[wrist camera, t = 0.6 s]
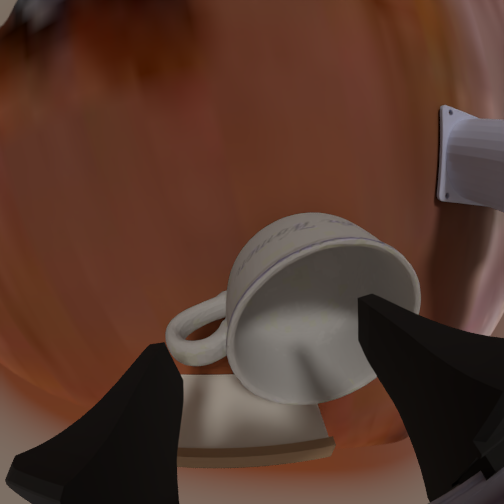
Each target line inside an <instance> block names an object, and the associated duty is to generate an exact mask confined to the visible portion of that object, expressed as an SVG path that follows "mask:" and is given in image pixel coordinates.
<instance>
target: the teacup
mask: <svg viewBox="0 0 504 504" xmlns="http://www.w3.org/2000/svg"><path fill="white" fill-rule="evenodd" d="M369 294H375V295H377V296H379V297H382V298H384V299H386V300H388V301H390V302H392V303H394V304H396V305H398V306H400V307H403V308H405V309H407V310H409V311H411V312H413V313H416V314H418V315H419V311H420V303H421V293H420V284H419V281H418V278H417V275H416V273H415V271H414V269H413V268H412V266H411V264H410V263H409V262H408V261H407V260H406V258H405V257H404V256H403V255H402V254H401V253H400V252H398V251H397V250H396V249H394V248H393V247H391V246H389V245H387V244H385V243H383V242H381V241H380V240H378V239H377V238H376V237H374V236H373V235H371V234H370V233H368V232H367V231H365V230H364V229H362V228H361V227H359V226H357V225H355V224H353V223H352V222H350V221H348V220H346V219H343V218H340V217H337V216H334V215H330V214H324V213H302V214H295V215H291V216H288V217H284V218H282V219H280V220H277V221H275V222H273V223H271V224H269V225H268V226H266V227H265V228H263V229H262V230H261V231H259V232H258V233H257V234H256V235H255V236H254V237H252V238H251V239H250V240H249V242H248V243H247V244H246V245H245V246H244V247H243V249H242V250H241V252H240V253H239V255H238V257H237V258H236V260H235V262H234V265H233V267H232V270H231V273H230V276H229V281H228V287H227V291H223V292H222V293H220V294H219V295H218V296H217V297H215V298H212V299H210V300H207V301H204V302H202V303H200V304H197V305H195V306H193V307H191V308H188V309H186V310H185V311H183V312H181V313H180V314H178V315H177V316H176V317H174V318H173V319H172V320H171V321H170V323H169V324H168V326H167V329H166V343H167V346H168V348H169V351H170V353H171V354H172V355H173V357H174V358H175V359H176V360H177V361H179V362H180V363H183V364H185V365H190V366H204V365H208V364H212V363H214V362H216V361H218V360H220V359H222V358H223V357H225V356H227V358H228V362H229V364H230V367H231V369H232V371H233V373H234V375H235V376H236V377H237V379H238V380H239V381H240V382H241V384H242V385H243V386H244V387H245V388H246V389H247V390H249V391H250V392H252V393H253V394H255V395H256V396H259V397H261V398H263V399H265V400H268V401H272V402H276V403H279V404H287V405H310V404H318V403H323V402H327V401H331V400H334V399H337V398H340V397H342V396H345V395H347V394H350V393H352V392H354V391H355V390H358V389H359V388H361V387H363V386H365V385H366V384H368V383H369V382H371V381H372V380H374V379H375V378H376V377H377V375H376V374H375V372H374V370H373V369H372V367H371V366H370V364H369V362H368V361H367V359H366V356H365V354H364V352H363V350H362V348H361V346H360V343H359V341H358V299H357V298H359V297H362V296H365V295H369ZM224 317H226V318H225V320H223V321H222V323H221V325H220V327H219V328H218V329H217V331H216V332H215V333H213V334H212V335H211V336H209V337H208V338H205V339H202V340H196V341H190V340H185V339H186V337H187V336H188V335H189V334H191V333H192V332H193V331H195V330H196V329H198V328H200V327H202V326H204V325H206V324H208V323H210V322H213V321H215V320H218V319H221V318H224Z"/></svg>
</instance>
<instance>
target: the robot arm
mask: <svg viewBox="0 0 504 504" xmlns="http://www.w3.org/2000/svg"><path fill="white" fill-rule="evenodd" d="M449 112H450V114H449ZM445 195H446V198H445ZM437 199H438V200H440V201H444V202H453V203H462V204H470V205H478V206H486V207H490V208H493V209H496V210H499V211H501V212H504V120H501V119H479V118H477V117H474V116H472V115H470V114H467V113H465V112H462V111H460V110H457V109H454V108H452V107H449V106H446V105H443V106H441V107H440V159H439V175H438V187H437ZM357 299H358V341H359V343H360V346H361V348H362V350H363V352H364V354H365V356H366V359H367V361H368V362H369V364H370V366H371V367H372V369H373V370H374V372H375V374H376V375H377V377H378V378H379V380H380V382H381V383H382V385H383V386H384V388H385V389H386V391H387V393H388V394H389V396H390V397H391V399H392V401H393V402H394V404H395V406H396V408H397V410H398V412H399V414H400V416H401V418H402V420H403V423H404V425H405V427H406V430H407V432H408V435H409V437H410V440H411V442H412V445H413V448H414V450H415V453H416V456H417V459H418V462H419V465H420V469H421V472H422V476H423V480H424V483H425V487H426V492H427V496H428V499H429V501H430V503H428V504H504V338H498V337H490V336H485V335H479V334H474V333H470V332H466V331H462V330H459V329H455V328H452V327H449V326H446V325H443V324H440V323H438V322H435V321H432V320H430V319H427V318H425V317H422V316H420V315H418V314H416V313H413V312H411V311H409V310H407V309H405V308H403V307H400V306H398V305H396V304H394V303H392V302H390V301H388V300H386V299H384V298H382V297H379V296H377V295H375V294H369V295H365V296H362V297H359V298H357ZM183 403H184V387H183V379H182V377H181V375H180V373H179V371H178V369H177V367H176V365H175V363H174V361H173V359H172V357H171V355H170V353H169V351H168V349H167V347H166V345H165V343H164V342H163V343H157V344H150V345H149V346H148V347H147V348H146V349H145V350H144V351H143V352H142V353H141V355H140V356H139V357H138V358H137V359H136V361H135V362H134V363H133V364H132V365H131V367H130V368H129V369H128V370H127V371H126V372H125V374H124V375H123V376H122V377H121V378H120V379H119V381H118V382H117V383H116V384H115V385H114V386H113V387H112V388H111V389H110V390H109V391H108V393H107V394H106V395H105V396H104V397H103V398H102V399H101V400H100V401H99V402H98V403H97V404H96V405H95V406H94V407H93V408H92V409H90V410H89V411H88V412H87V413H86V414H85V415H84V416H82V417H81V418H80V419H79V420H77V421H76V422H75V423H73V424H72V425H71V426H69V427H68V428H67V429H65V430H64V431H62V432H61V433H59V434H58V435H56V436H55V437H53V438H51V439H50V440H48V441H46V442H45V443H43V444H41V445H39V446H37V447H35V448H32V449H30V450H28V451H26V452H23V453H21V454H18V455H16V456H15V458H14V460H13V462H12V464H11V467H10V470H9V472H8V474H7V477H6V479H5V481H6V484H7V485H8V486H9V487H10V488H11V489H12V490H13V491H15V492H16V493H17V494H19V495H20V496H21V497H23V498H24V499H26V500H27V501H29V502H30V503H32V504H179V497H178V484H177V450H178V442H179V434H180V427H181V419H182V411H183Z"/></svg>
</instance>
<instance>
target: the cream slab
mask: <svg viewBox="0 0 504 504" xmlns="http://www.w3.org/2000/svg"><path fill="white" fill-rule="evenodd" d="M181 377H182V379H183V387H184V403H183V411H182V419H181V427H180V434H179V442H178V450H177V467H189V468H239V467H241V468H242V467H258V466H269V465H279V464H286V463H295V462H301V461H307V460H314V459H319V458H324V457H329V456H331V454H332V452H333V450H334V448H335V446H336V444H335V441H334V438H333V437H329V436H328V433H327V430H326V428H325V425H324V422H323V419H322V416H321V413H320V410H319V407H318V404H310V405H287V404H279V403H276V402H272V401H268V400H265V399H263V398H261V397H259V396H256V395H255V394H253V393H252V392H250V391H249V390H247V389H246V388H245V387H244V386H243V385H242V384H241V382H240V381H239V380H238V379H237V377H236V376H235V375H234V374H224V375H181Z"/></svg>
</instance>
